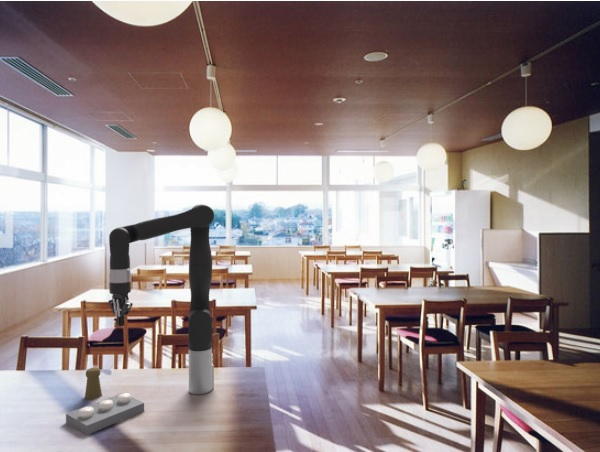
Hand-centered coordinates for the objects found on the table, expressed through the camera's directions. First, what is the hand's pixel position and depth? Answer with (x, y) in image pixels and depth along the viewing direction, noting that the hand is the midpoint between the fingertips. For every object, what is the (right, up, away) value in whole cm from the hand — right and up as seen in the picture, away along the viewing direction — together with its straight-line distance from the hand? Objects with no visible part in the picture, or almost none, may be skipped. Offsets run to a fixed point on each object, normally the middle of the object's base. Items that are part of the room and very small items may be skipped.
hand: (120, 325), depth 163 cm
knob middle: (0, -29, -11) cm, 31 cm away
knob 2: (+4, -29, -6) cm, 30 cm away
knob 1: (-4, -29, -17) cm, 34 cm away
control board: (0, -29, -11) cm, 31 cm away
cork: (-13, -29, +5) cm, 32 cm away
